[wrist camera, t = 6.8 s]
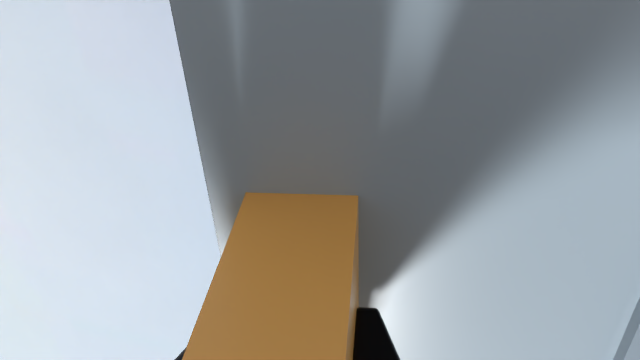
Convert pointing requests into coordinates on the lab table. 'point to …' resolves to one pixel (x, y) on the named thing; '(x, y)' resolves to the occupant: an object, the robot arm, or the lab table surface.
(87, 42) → the lab table surface
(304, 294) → the lid
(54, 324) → the lab table surface
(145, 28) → the lab table surface
